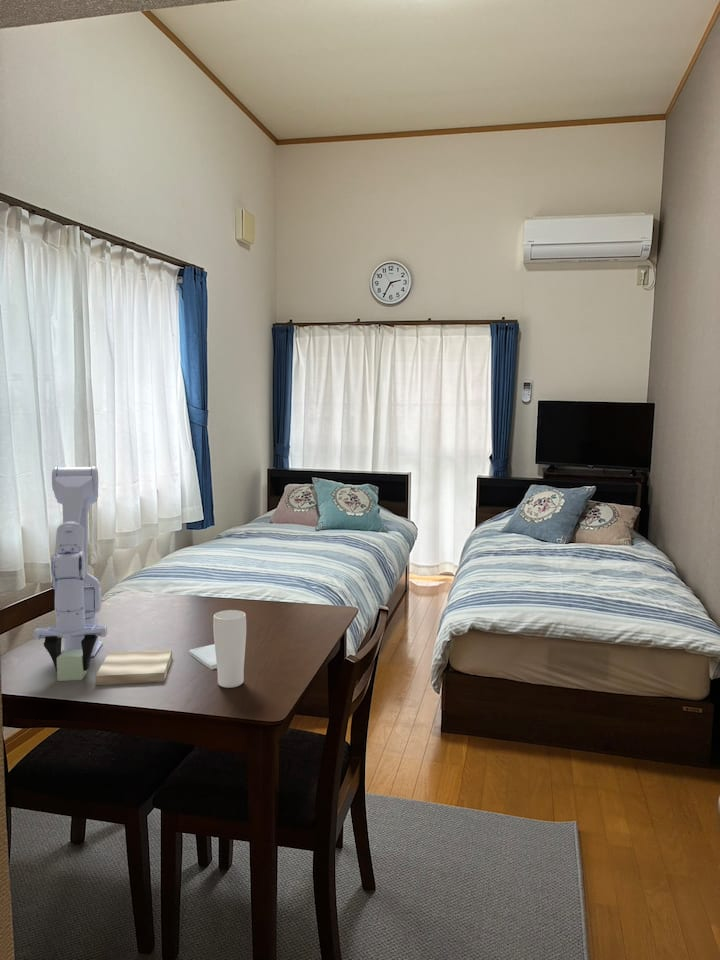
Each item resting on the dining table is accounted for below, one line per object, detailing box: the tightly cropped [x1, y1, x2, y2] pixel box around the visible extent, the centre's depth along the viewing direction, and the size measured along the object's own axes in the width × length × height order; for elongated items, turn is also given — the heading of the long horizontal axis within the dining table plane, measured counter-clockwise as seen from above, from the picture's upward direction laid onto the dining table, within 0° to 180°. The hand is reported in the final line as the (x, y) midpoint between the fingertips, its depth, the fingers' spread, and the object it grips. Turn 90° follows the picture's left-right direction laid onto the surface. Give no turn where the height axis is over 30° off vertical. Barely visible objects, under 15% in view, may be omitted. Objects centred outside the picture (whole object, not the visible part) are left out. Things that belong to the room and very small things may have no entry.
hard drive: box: [188, 643, 217, 670], centre depth 162 cm, size 2×8×12 cm
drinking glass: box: [212, 609, 247, 689], centre depth 146 cm, size 7×7×15 cm
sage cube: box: [56, 649, 89, 682], centre depth 151 cm, size 5×5×5 cm
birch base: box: [94, 649, 173, 686], centre depth 154 cm, size 14×14×2 cm
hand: (72, 669), depth 151 cm, fingers closed on sage cube, 5 cm apart
